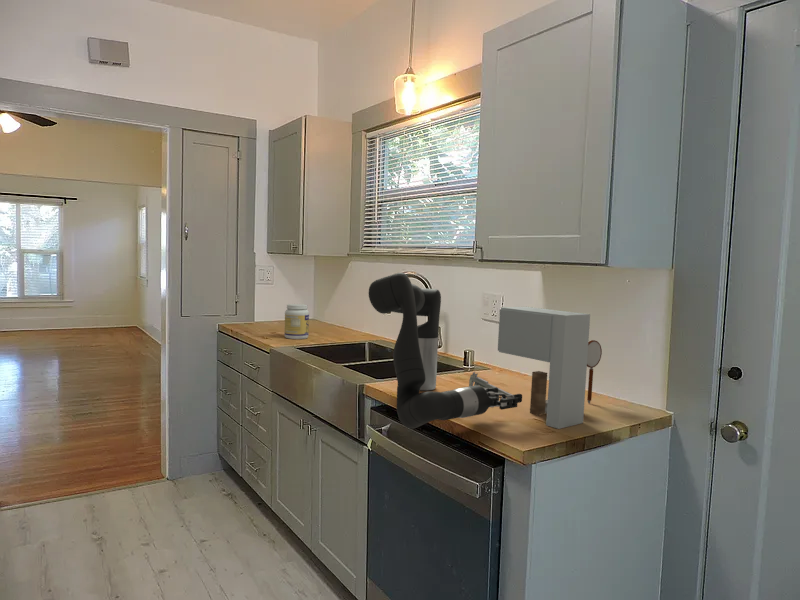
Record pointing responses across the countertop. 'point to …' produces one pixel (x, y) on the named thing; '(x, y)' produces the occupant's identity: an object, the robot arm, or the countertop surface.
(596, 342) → the magnifying glass
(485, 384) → the caliper
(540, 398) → the tall wooden block
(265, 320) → the countertop surface
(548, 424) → the grey inverted l-bracket
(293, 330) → the supplement tub
